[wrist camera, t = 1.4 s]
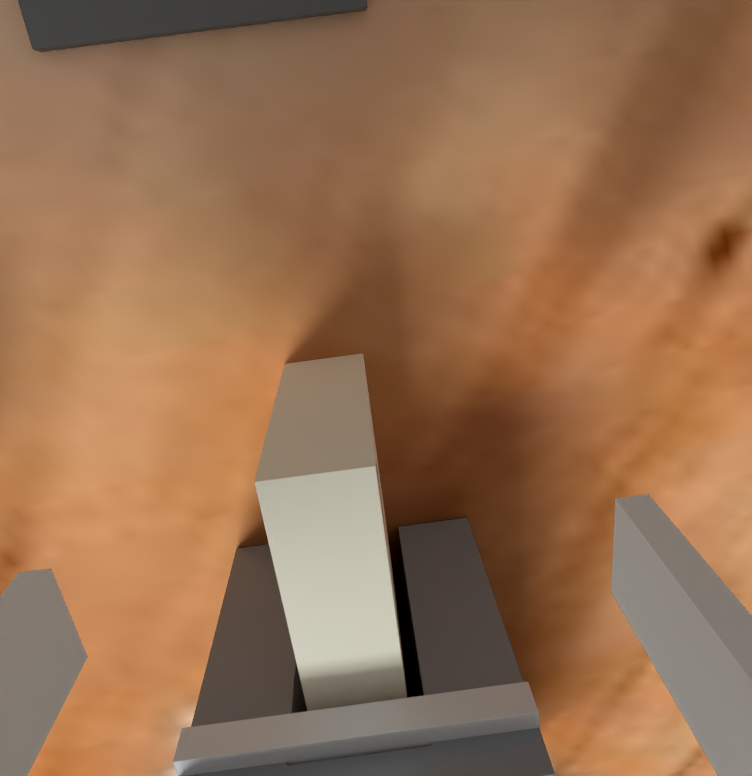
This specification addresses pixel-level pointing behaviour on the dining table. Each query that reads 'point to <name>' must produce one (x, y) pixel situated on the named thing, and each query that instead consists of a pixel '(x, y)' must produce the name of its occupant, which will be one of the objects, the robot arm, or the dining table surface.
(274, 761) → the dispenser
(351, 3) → the mat
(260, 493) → the cream upright slab
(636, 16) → the dining table surface
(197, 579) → the dining table surface
